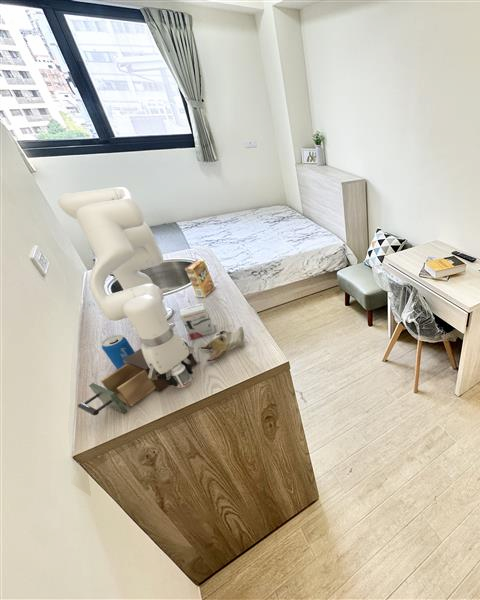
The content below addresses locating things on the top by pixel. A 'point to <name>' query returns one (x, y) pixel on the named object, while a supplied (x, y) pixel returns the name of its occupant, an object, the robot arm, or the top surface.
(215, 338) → the ceramic sculpture
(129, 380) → the drawer
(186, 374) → the pill bottle
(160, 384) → the cabinet
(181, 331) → the top surface
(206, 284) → the candy box
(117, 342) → the beverage can
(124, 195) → the robot arm
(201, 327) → the ink box
